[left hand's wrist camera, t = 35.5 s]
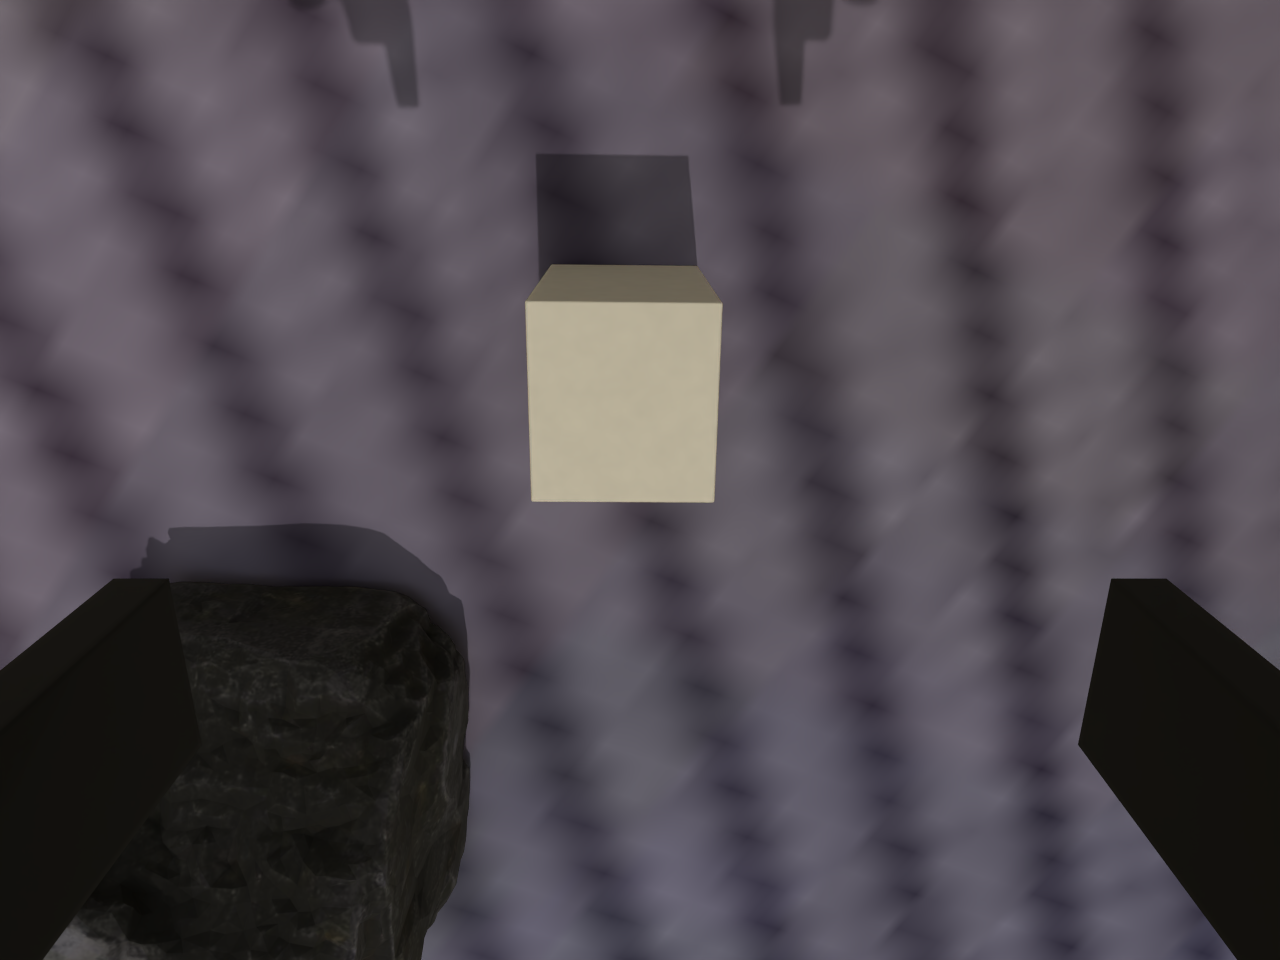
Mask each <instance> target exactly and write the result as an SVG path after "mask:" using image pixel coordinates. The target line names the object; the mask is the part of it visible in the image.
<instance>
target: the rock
mask: <svg viewBox="0 0 1280 960" xmlns="http://www.w3.org/2000/svg"><path fill="white" fill-rule="evenodd" d="M170 588H171V593H172V598H173V603H174V608H175V613H176V618H177V623H178V628H179V633H180V638H181V643H182V648H183V653H184V658H185V663H186V668H187V673H188V678H189V683H190V688H191V693H192V698H193V703H194V708H195V713H196V718H197V723H198V728H199V733H200V738H201V743H202V745H201V747H200V748H199V749H198V751H197V752H196V753H195V755H194V756H193V757H192V759H191V760H190V761H189V763H188V764H187V765H186V767H185V768H184V770H183V771H182V772H181V774H180V775H179V776H178V778H177V779H176V780H175V782H174V783H173V784H172V786H171V787H170V788H169V790H168V791H167V792H166V794H165V795H164V797H163V798H162V799H161V801H160V802H159V803H158V805H157V806H156V807H155V809H154V810H153V811H152V813H151V814H150V815H149V817H148V818H147V820H146V821H145V822H144V824H143V825H142V826H141V828H140V829H139V830H138V832H137V833H136V834H135V836H134V837H133V838H132V840H131V841H130V843H129V844H128V845H127V847H126V848H125V849H124V851H123V852H122V853H121V855H120V856H119V857H118V859H117V860H116V861H115V863H114V864H113V865H112V867H111V868H110V870H109V871H108V872H107V874H106V875H105V876H104V878H103V879H102V880H101V882H100V883H99V884H98V886H97V887H96V888H95V890H94V891H93V893H92V894H91V895H90V897H89V898H88V899H87V901H86V902H85V903H84V905H83V906H82V907H81V909H80V910H79V911H78V913H77V914H76V916H75V917H74V918H73V920H72V921H71V922H70V924H69V925H68V926H67V928H66V929H65V930H64V932H63V933H62V934H61V936H60V937H59V938H58V940H57V941H56V943H55V944H54V945H53V947H52V948H51V949H50V951H49V952H48V953H47V955H46V956H45V957H44V959H43V960H421V957H422V950H423V943H424V937H425V935H426V932H427V929H428V928H429V927H431V925H432V924H433V923H434V921H435V919H436V916H437V913H438V911H439V910H440V909H441V908H442V907H443V905H444V904H445V903H446V901H447V900H448V898H449V896H450V894H451V892H452V891H453V889H454V887H455V885H456V882H457V877H458V871H459V866H460V860H461V857H462V855H463V852H464V847H465V841H466V830H467V815H468V809H469V768H468V766H467V765H466V763H465V762H464V761H463V744H464V736H465V732H466V728H467V724H468V685H467V681H466V676H465V662H464V659H463V658H462V656H461V655H460V654H459V652H458V651H457V650H456V649H455V645H454V643H453V642H452V640H451V639H450V637H449V636H448V635H447V634H446V633H445V632H444V631H443V630H442V629H441V628H440V627H438V626H436V625H433V624H431V622H430V620H429V616H428V613H427V610H426V609H425V608H423V607H421V606H419V605H418V604H417V603H416V602H414V601H413V600H412V599H410V598H409V597H407V596H404V595H402V594H399V593H397V592H394V591H386V590H377V589H369V588H359V587H349V586H345V587H328V586H286V587H271V586H261V585H250V584H220V583H206V582H175V583H170Z"/></svg>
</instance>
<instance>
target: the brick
mask: <svg viewBox="0 0 1280 960" xmlns="http://www.w3.org/2000/svg"><path fill="white" fill-rule="evenodd" d="M722 307H723V304H722V302H721V301H720V299H719V298H718V296H717V295H716V293H715V292H714V290H713V289H712V287H711V286H710V284H709V283H708V281H707V280H706V278H705V277H704V275H703V274H702V272H701V271H700V270H699V268H698V267H697V266H657V265H560V264H552V265H551V266H550V267H549V269H548V270H547V271H546V273H545V274H544V276H543V277H542V279H541V280H540V281H539V283H538V284H537V286H536V287H535V289H534V290H533V291H532V293H531V294H530V296H529V297H528V298H527V300H526V302H525V313H526V346H527V378H528V410H529V442H530V474H531V500H532V501H544V502H714V496H715V472H716V448H717V425H718V401H719V378H720V354H721V331H722Z"/></svg>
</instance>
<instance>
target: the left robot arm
mask: <svg viewBox="0 0 1280 960" xmlns="http://www.w3.org/2000/svg"><path fill="white" fill-rule="evenodd" d="M201 745H202V743H201V738H200V733H199V728H198V723H197V718H196V713H195V708H194V703H193V698H192V693H191V688H190V683H189V678H188V673H187V668H186V663H185V658H184V653H183V648H182V643H181V638H180V633H179V628H178V623H177V618H176V613H175V608H174V603H173V598H172V593H171V588H170V583H169V579H113V580H111V581H110V582H109V583H108V584H107V585H105V586H104V587H103V588H102V589H100V590H99V591H98V592H97V593H95V594H94V595H93V596H92V597H90V598H89V599H88V600H87V601H86V602H84V603H83V604H82V605H81V606H79V607H78V608H77V609H76V610H74V611H73V612H72V613H71V614H70V615H68V616H67V617H66V618H65V619H63V620H62V621H61V622H60V623H58V624H57V625H56V626H55V627H53V628H52V629H51V630H50V631H49V632H47V633H46V634H45V635H44V636H42V637H41V638H40V639H39V640H37V641H36V642H35V643H34V644H32V645H31V646H30V647H29V648H28V649H26V650H25V651H24V652H23V653H21V654H20V655H19V656H18V657H16V658H15V659H14V660H13V661H11V662H10V663H9V664H8V665H7V666H5V667H4V668H3V669H2V670H0V960H43V959H44V957H45V956H46V955H47V953H48V952H49V951H50V949H51V948H52V947H53V945H54V944H55V943H56V941H57V940H58V938H59V937H60V936H61V934H62V933H63V932H64V930H65V929H66V928H67V926H68V925H69V924H70V922H71V921H72V920H73V918H74V917H75V916H76V914H77V913H78V911H79V910H80V909H81V907H82V906H83V905H84V903H85V902H86V901H87V899H88V898H89V897H90V895H91V894H92V893H93V891H94V890H95V888H96V887H97V886H98V884H99V883H100V882H101V880H102V879H103V878H104V876H105V875H106V874H107V872H108V871H109V870H110V868H111V867H112V865H113V864H114V863H115V861H116V860H117V859H118V857H119V856H120V855H121V853H122V852H123V851H124V849H125V848H126V847H127V845H128V844H129V843H130V841H131V840H132V838H133V837H134V836H135V834H136V833H137V832H138V830H139V829H140V828H141V826H142V825H143V824H144V822H145V821H146V820H147V818H148V817H149V815H150V814H151V813H152V811H153V810H154V809H155V807H156V806H157V805H158V803H159V802H160V801H161V799H162V798H163V797H164V795H165V794H166V792H167V791H168V790H169V788H170V787H171V786H172V784H173V783H174V782H175V780H176V779H177V778H178V776H179V775H180V774H181V772H182V771H183V770H184V768H185V767H186V765H187V764H188V763H189V761H190V760H191V759H192V757H193V756H194V755H195V753H196V752H197V751H198V749H199V748H200V747H201ZM1078 745H1079V747H1080V748H1081V749H1082V751H1083V752H1084V753H1085V755H1086V756H1087V757H1088V759H1089V760H1090V761H1091V763H1092V764H1093V765H1094V767H1095V768H1096V770H1097V771H1098V772H1099V774H1100V775H1101V776H1102V778H1103V779H1104V780H1105V782H1106V783H1107V784H1108V786H1109V787H1110V788H1111V790H1112V791H1113V792H1114V794H1115V795H1116V797H1117V798H1118V799H1119V801H1120V802H1121V803H1122V805H1123V806H1124V807H1125V809H1126V810H1127V811H1128V813H1129V814H1130V815H1131V817H1132V818H1133V820H1134V821H1135V822H1136V824H1137V825H1138V826H1139V828H1140V829H1141V830H1142V832H1143V833H1144V834H1145V836H1146V837H1147V838H1148V840H1149V841H1150V843H1151V844H1152V845H1153V847H1154V848H1155V849H1156V851H1157V852H1158V853H1159V855H1160V856H1161V857H1162V859H1163V860H1164V861H1165V863H1166V864H1167V865H1168V867H1169V868H1170V870H1171V871H1172V872H1173V874H1174V875H1175V876H1176V878H1177V879H1178V880H1179V882H1180V883H1181V884H1182V886H1183V887H1184V888H1185V890H1186V891H1187V893H1188V894H1189V895H1190V897H1191V898H1192V899H1193V901H1194V902H1195V903H1196V905H1197V906H1198V907H1199V909H1200V910H1201V911H1202V913H1203V914H1204V916H1205V917H1206V918H1207V920H1208V921H1209V922H1210V924H1211V925H1212V926H1213V928H1214V929H1215V930H1216V932H1217V933H1218V934H1219V936H1220V937H1221V938H1222V940H1223V941H1224V943H1225V944H1226V945H1227V947H1228V948H1229V949H1230V951H1231V952H1232V953H1233V955H1234V956H1235V957H1236V959H1237V960H1280V670H1278V669H1277V668H1276V667H1275V666H1273V665H1272V664H1271V663H1270V662H1269V661H1267V660H1266V659H1265V658H1264V657H1262V656H1261V655H1260V654H1259V653H1257V652H1256V651H1255V650H1254V649H1252V648H1251V647H1250V646H1249V645H1248V644H1246V643H1245V642H1244V641H1243V640H1241V639H1240V638H1239V637H1238V636H1236V635H1235V634H1234V633H1233V632H1231V631H1230V630H1229V629H1228V628H1227V627H1225V626H1224V625H1223V624H1222V623H1220V622H1219V621H1218V620H1217V619H1215V618H1214V617H1213V616H1212V615H1210V614H1209V613H1208V612H1207V611H1206V610H1204V609H1203V608H1202V607H1201V606H1199V605H1198V604H1197V603H1196V602H1194V601H1193V600H1192V599H1191V598H1190V597H1188V596H1187V595H1186V594H1185V593H1183V592H1182V591H1181V590H1180V589H1178V588H1177V587H1176V586H1175V585H1173V584H1172V583H1171V582H1170V581H1169V580H1167V579H1111V583H1110V588H1109V593H1108V598H1107V603H1106V608H1105V613H1104V618H1103V623H1102V628H1101V633H1100V638H1099V643H1098V648H1097V653H1096V658H1095V663H1094V668H1093V673H1092V678H1091V683H1090V688H1089V693H1088V698H1087V703H1086V708H1085V713H1084V718H1083V723H1082V728H1081V733H1080V738H1079V743H1078Z"/></svg>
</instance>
